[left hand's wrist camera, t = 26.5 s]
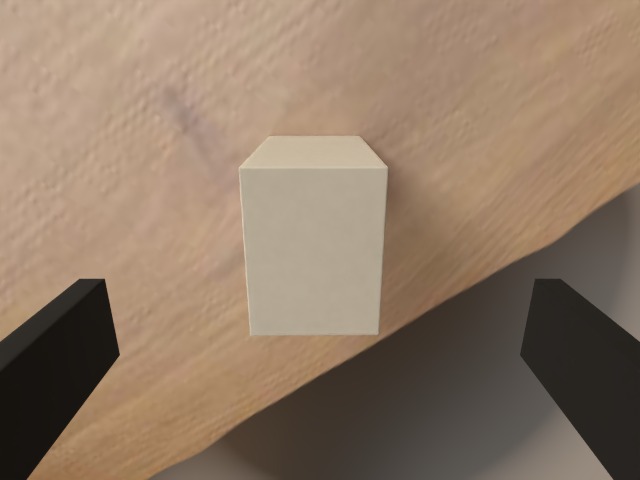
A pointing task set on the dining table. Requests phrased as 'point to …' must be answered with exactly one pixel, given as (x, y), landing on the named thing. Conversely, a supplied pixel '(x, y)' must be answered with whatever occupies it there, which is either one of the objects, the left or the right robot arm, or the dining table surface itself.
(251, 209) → the block
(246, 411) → the dining table surface
